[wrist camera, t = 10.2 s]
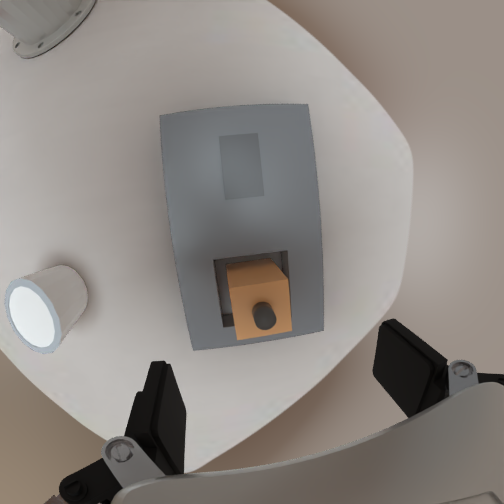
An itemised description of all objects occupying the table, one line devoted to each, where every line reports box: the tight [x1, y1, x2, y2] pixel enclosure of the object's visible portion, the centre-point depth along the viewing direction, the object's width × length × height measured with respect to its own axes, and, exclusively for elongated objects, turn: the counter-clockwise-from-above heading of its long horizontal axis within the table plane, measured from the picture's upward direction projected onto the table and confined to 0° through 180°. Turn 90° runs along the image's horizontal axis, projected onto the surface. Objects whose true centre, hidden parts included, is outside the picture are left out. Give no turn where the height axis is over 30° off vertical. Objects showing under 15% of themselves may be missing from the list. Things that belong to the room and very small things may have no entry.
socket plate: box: [160, 104, 324, 351], centre depth 22 cm, size 20×12×3 cm, turn 6°
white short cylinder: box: [5, 265, 88, 354], centre depth 19 cm, size 7×7×7 cm
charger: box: [226, 258, 292, 340], centre depth 21 cm, size 4×4×8 cm
